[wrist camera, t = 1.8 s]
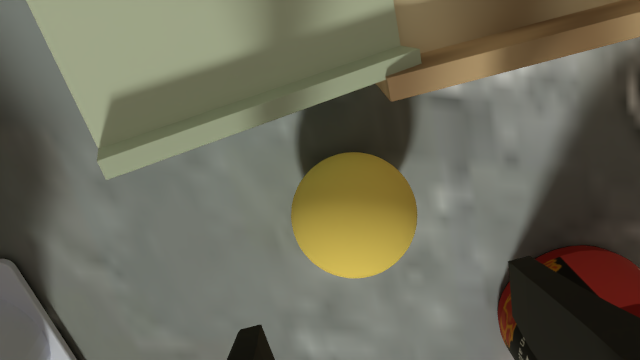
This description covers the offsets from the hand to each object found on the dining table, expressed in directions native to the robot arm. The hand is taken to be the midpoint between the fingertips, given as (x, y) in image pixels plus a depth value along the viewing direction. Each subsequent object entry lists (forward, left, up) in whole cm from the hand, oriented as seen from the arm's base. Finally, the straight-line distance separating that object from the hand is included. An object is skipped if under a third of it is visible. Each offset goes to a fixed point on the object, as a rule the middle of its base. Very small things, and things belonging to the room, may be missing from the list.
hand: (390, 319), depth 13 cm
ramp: (-2, +9, -9) cm, 13 cm away
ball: (0, 0, -6) cm, 6 cm away
